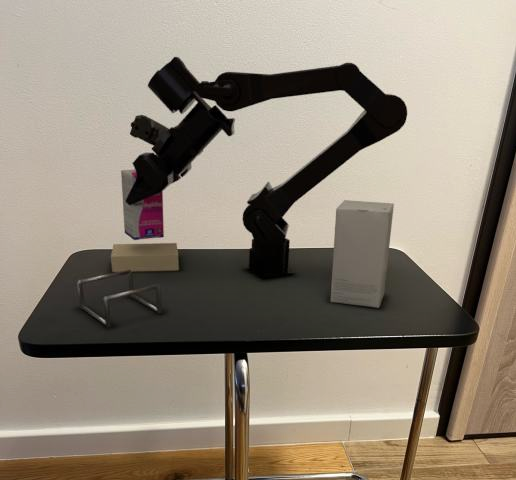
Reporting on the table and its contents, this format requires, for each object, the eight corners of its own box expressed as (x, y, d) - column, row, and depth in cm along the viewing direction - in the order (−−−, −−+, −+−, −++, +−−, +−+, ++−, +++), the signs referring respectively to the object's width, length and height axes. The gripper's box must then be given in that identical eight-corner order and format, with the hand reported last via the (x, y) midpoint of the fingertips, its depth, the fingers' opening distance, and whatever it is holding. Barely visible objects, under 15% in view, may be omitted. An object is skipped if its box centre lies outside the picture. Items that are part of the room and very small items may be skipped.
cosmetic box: (384, 296, 91) (397, 203, 84) (378, 310, 86) (392, 211, 79) (335, 289, 94) (344, 198, 87) (327, 302, 88) (335, 205, 81)
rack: (132, 295, 88) (130, 268, 86) (162, 313, 82) (161, 284, 80) (79, 308, 83) (76, 280, 81) (107, 328, 77) (104, 297, 75)
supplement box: (134, 241, 97) (130, 174, 92) (124, 233, 101) (119, 169, 96) (165, 237, 100) (162, 173, 95) (153, 230, 104) (150, 168, 99)
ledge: (177, 257, 108) (176, 242, 106) (178, 270, 100) (178, 254, 99) (114, 259, 106) (113, 244, 104) (112, 272, 98) (110, 256, 97)
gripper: (171, 96, 98) (118, 158, 104) (140, 99, 81) (79, 172, 87) (215, 143, 101) (160, 201, 107) (194, 156, 84) (131, 223, 90)
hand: (134, 198), depth 98 cm, fingers closed on supplement box, 7 cm apart
